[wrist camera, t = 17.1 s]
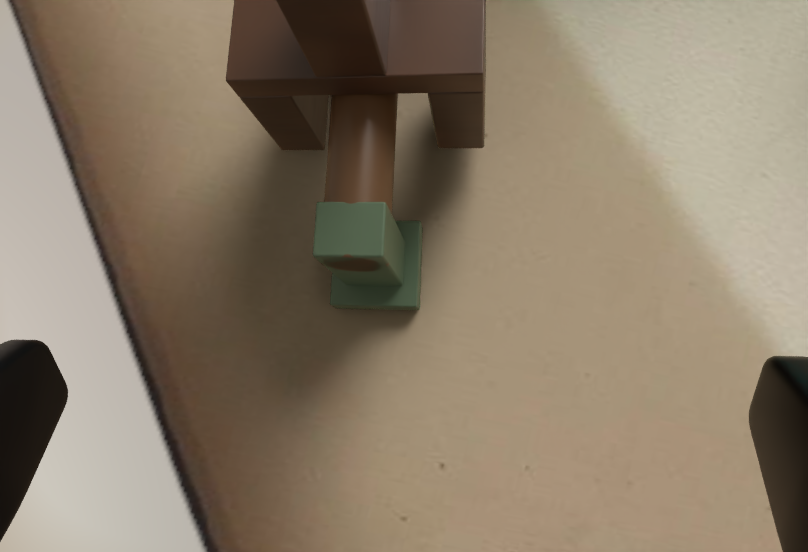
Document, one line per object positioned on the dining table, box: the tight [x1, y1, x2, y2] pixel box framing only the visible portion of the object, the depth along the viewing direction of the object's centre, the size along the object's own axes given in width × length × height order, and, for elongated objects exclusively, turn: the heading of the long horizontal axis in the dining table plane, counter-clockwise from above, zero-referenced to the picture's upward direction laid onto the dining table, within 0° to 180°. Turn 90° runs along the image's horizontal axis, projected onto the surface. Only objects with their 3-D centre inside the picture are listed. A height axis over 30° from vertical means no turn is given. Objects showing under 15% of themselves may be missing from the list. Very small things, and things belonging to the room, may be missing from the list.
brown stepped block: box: [226, 0, 486, 150], centre depth 17 cm, size 7×3×10 cm, turn 87°
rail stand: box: [313, 93, 423, 310], centre depth 21 cm, size 14×3×5 cm, turn 178°
